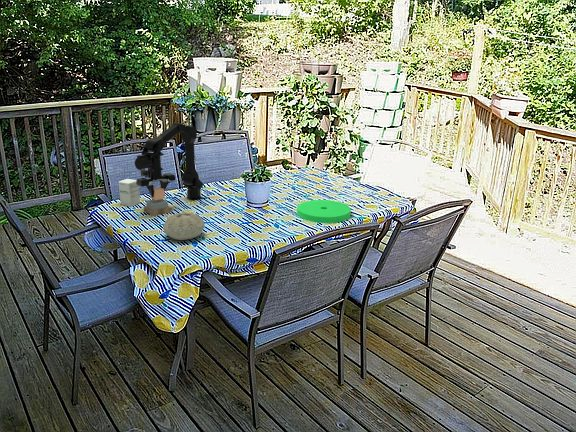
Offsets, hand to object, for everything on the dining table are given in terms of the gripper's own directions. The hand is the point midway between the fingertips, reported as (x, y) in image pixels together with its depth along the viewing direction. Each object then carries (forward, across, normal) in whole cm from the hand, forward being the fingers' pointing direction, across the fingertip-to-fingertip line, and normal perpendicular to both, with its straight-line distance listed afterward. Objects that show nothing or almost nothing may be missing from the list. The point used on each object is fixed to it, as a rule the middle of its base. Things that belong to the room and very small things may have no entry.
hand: (157, 196), depth 251 cm
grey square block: (+6, +1, 0) cm, 6 cm away
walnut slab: (+9, 0, 0) cm, 9 cm away
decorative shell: (+8, +8, +37) cm, 39 cm away
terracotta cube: (+1, 0, 0) cm, 1 cm away
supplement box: (+8, +5, -20) cm, 22 cm away
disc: (+9, -61, +57) cm, 84 cm away
